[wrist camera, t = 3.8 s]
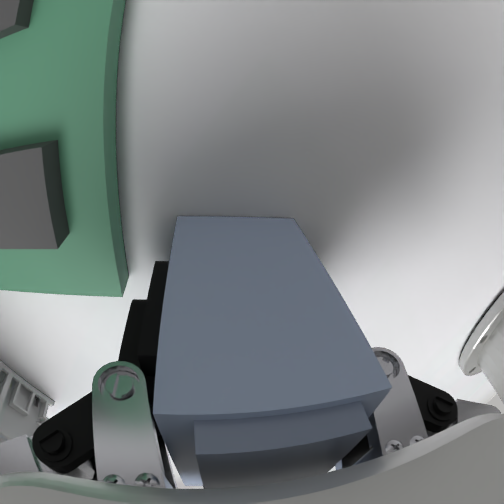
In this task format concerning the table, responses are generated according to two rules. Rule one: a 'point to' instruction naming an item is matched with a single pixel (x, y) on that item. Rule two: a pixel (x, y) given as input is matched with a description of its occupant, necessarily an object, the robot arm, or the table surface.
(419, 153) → the table surface
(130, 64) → the table surface
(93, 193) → the board
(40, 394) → the circuit breaker
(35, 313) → the table surface
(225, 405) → the plug
